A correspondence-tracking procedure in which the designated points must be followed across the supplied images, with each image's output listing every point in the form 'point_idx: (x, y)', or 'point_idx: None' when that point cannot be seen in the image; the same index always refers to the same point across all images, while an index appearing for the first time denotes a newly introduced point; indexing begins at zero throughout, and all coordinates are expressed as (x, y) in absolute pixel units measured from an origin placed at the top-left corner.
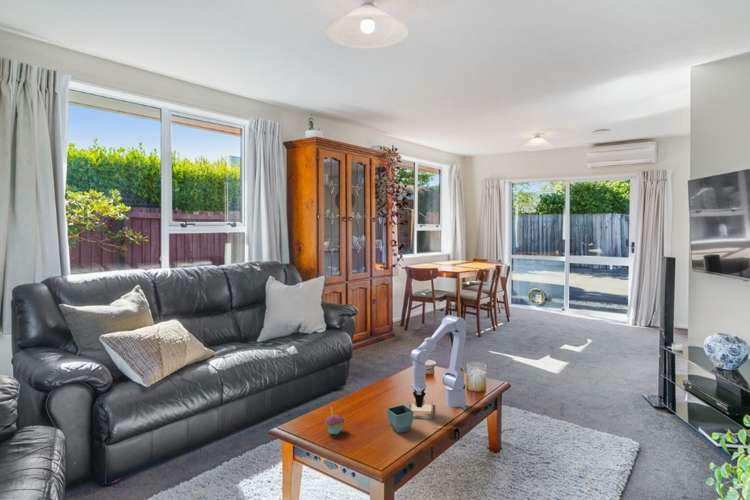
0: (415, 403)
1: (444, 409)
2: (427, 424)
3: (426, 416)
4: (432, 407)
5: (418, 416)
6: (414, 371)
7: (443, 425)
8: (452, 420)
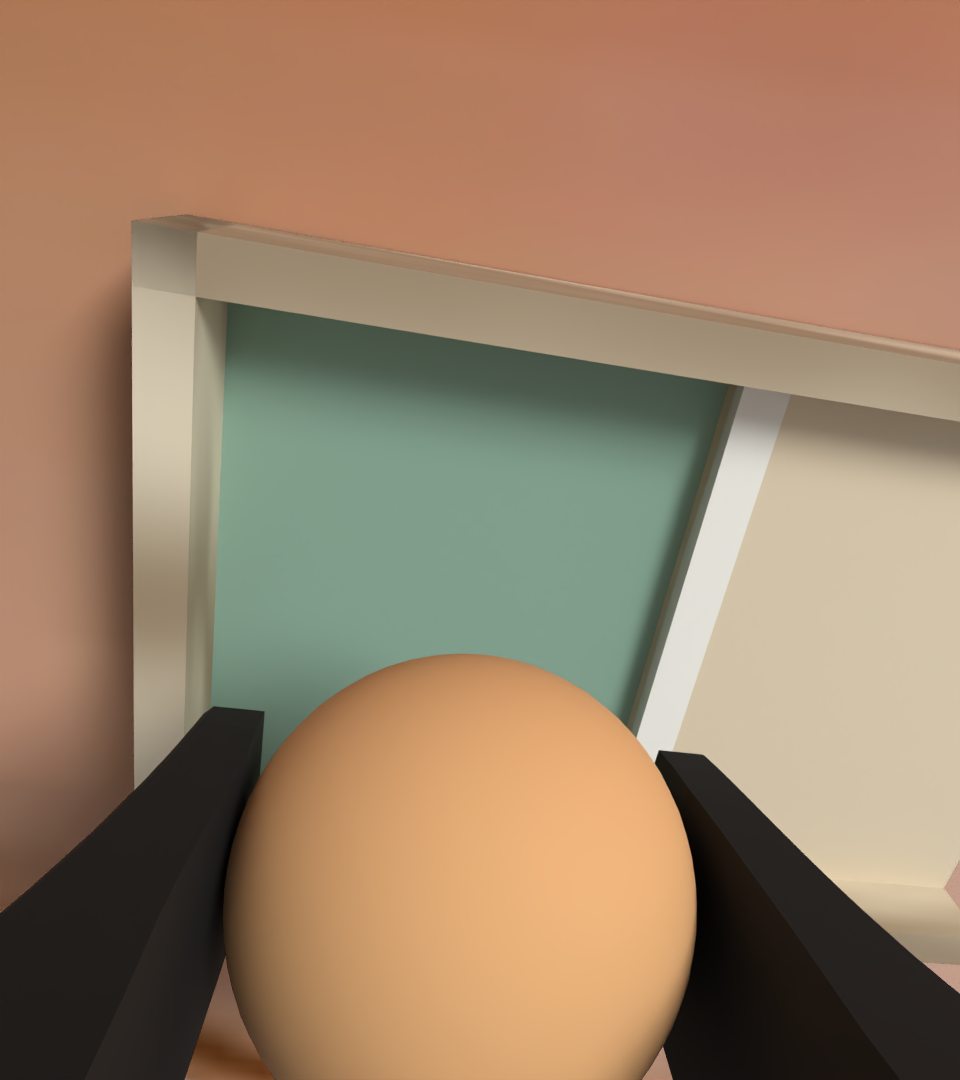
0: (309, 731)
1: None
2: (13, 701)
3: (140, 777)
4: None
5: (139, 594)
6: None
7: None
8: (248, 1072)
